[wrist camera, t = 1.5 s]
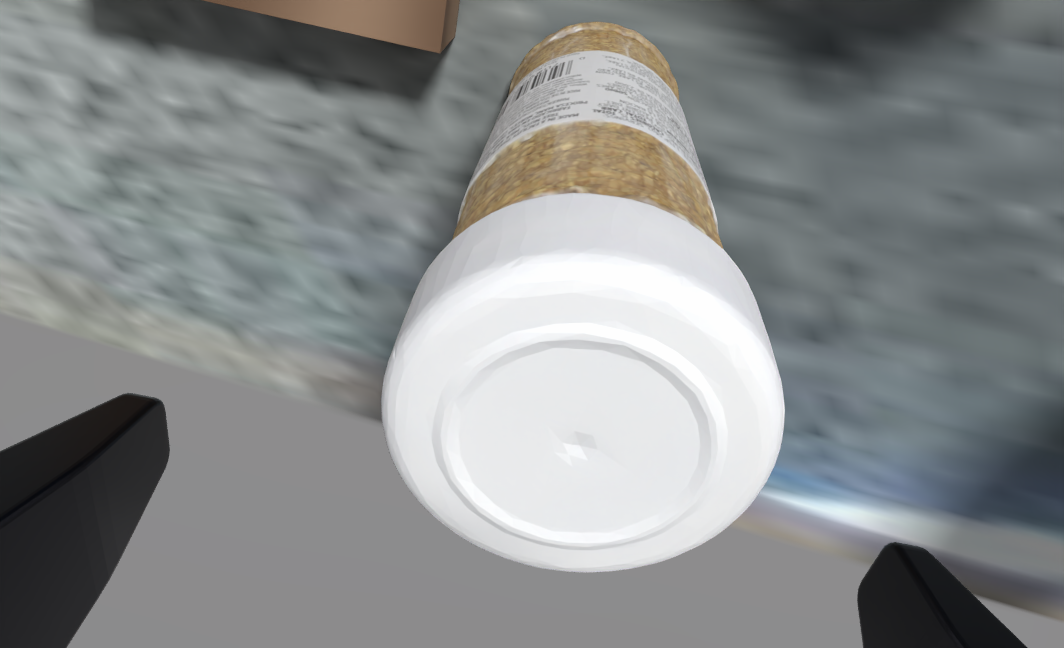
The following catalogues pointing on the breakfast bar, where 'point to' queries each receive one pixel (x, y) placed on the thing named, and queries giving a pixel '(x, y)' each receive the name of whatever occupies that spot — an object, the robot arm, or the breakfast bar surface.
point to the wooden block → (369, 18)
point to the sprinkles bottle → (585, 330)
